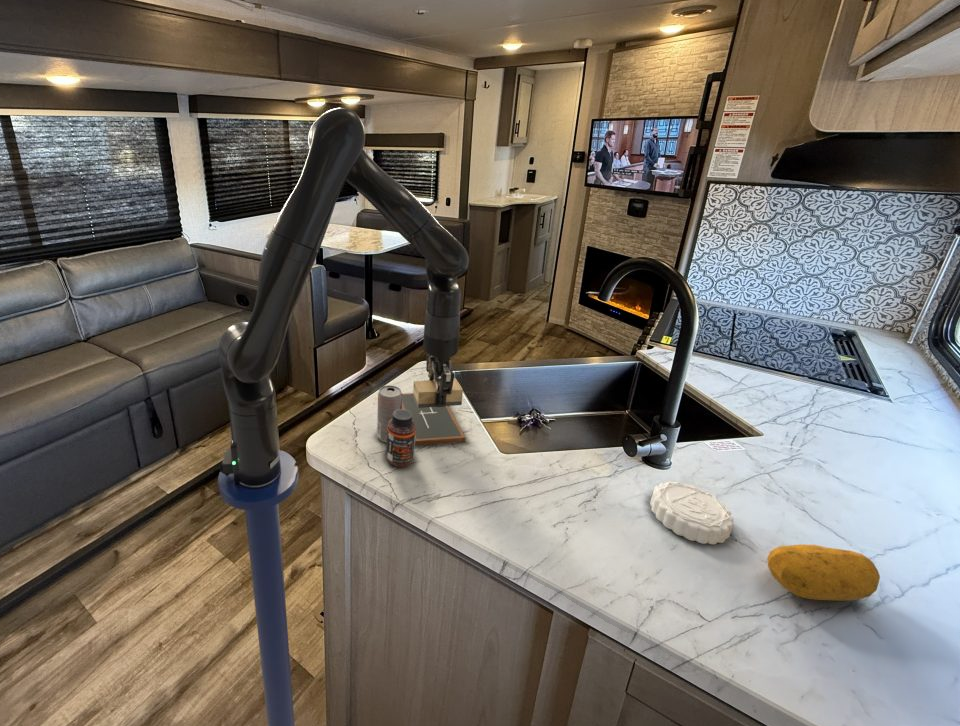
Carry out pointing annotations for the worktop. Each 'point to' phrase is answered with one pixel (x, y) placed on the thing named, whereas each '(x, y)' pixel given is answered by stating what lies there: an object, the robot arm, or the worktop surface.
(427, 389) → the eraser
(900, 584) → the worktop surface
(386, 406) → the energy drink
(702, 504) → the mooncake
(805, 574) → the potato
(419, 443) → the chalkboard
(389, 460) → the supplement bottle
